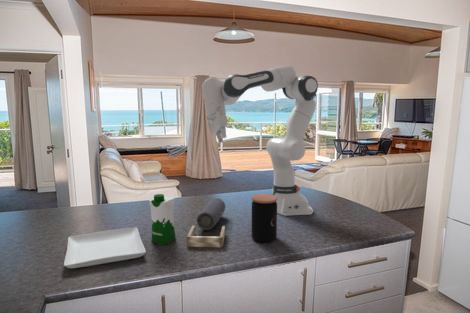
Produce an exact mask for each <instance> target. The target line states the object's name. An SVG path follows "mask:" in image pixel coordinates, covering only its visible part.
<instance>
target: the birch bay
mask: <svg viewBox="0 0 470 313" xmlns="http://www.w3.org/2000/svg"><path fill="white" fill-rule="evenodd" d="M219 234H220V235H219V236H213V235H212V236H208V235H206V236H205V235H204V236H203V235H202V236H201V235H200V236H199V235H196V226H195V225H191V227H190V230H189V232H188V234H187V235H186V248H189V247H190V248H193V247H194V248H195V247H196V248H197V247H198V248H223V247H224V244H225V243H224V242H225V237H226V226H225V225H222V226H221V231H220V233H219Z"/></svg>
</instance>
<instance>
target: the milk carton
mask: <svg viewBox="0 0 470 313" xmlns="http://www.w3.org/2000/svg"><path fill="white" fill-rule="evenodd" d="M175 202H176V197H172V196H165V194H162V193H160V194H158V193H157V194H154V195H153V198H152V199H150V200H148V203H149V206H150V207H149V208H150V213H151V214H150V215H151V216H150V217H151V243H154V244H160V245H164V246H167V245H168V244H169V243H171V242H172V241H174V240H176V231H175V212H174V211H175V209H174V208H175Z"/></svg>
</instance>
